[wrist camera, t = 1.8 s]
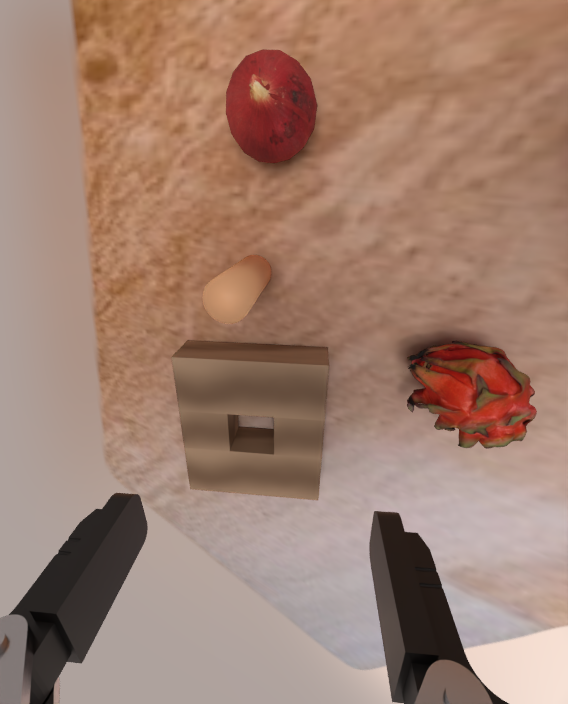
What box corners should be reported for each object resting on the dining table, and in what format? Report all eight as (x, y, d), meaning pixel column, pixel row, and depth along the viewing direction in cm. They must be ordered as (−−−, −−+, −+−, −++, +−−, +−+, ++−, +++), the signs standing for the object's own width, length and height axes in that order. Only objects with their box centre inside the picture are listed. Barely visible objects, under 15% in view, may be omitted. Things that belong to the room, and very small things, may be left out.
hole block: (187, 340, 32) (171, 357, 28) (327, 347, 31) (329, 365, 27) (202, 462, 39) (190, 489, 35) (318, 472, 38) (318, 500, 34)
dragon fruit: (489, 403, 34) (397, 338, 33) (578, 375, 26) (460, 291, 26) (475, 476, 29) (368, 401, 29) (576, 466, 22) (435, 366, 22)
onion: (322, 81, 23) (324, 20, 15) (310, 172, 25) (308, 157, 18) (241, 73, 23) (207, 9, 16) (237, 164, 25) (206, 146, 18)
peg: (237, 254, 28) (200, 275, 19) (271, 255, 28) (249, 277, 19) (239, 288, 29) (204, 322, 20) (271, 289, 29) (251, 324, 20)
